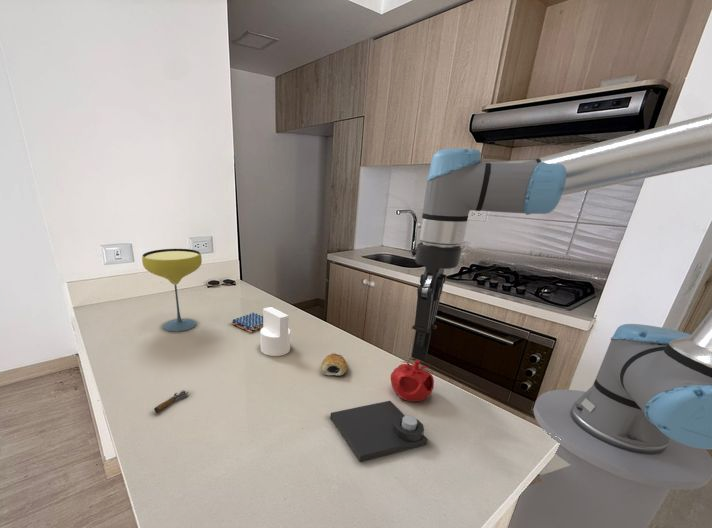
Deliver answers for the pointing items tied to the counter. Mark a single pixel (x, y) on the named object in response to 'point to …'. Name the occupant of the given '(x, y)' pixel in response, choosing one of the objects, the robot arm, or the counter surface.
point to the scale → (376, 430)
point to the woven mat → (249, 322)
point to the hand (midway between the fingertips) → (418, 357)
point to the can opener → (170, 401)
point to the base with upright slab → (274, 333)
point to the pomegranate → (412, 381)
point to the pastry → (334, 365)
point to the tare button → (409, 423)
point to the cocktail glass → (173, 275)
